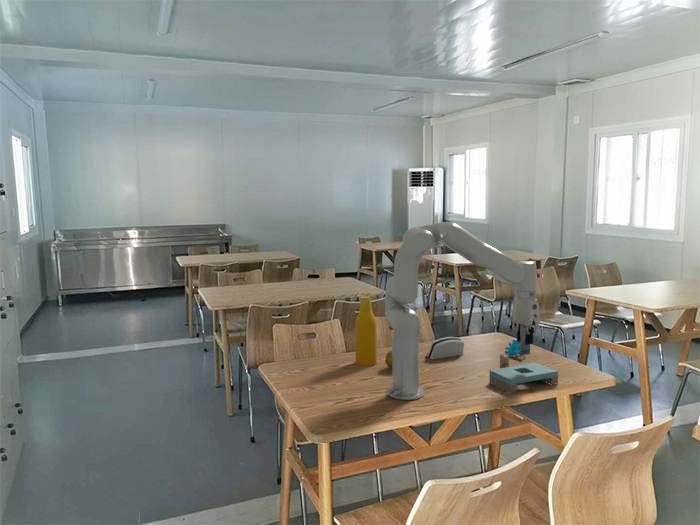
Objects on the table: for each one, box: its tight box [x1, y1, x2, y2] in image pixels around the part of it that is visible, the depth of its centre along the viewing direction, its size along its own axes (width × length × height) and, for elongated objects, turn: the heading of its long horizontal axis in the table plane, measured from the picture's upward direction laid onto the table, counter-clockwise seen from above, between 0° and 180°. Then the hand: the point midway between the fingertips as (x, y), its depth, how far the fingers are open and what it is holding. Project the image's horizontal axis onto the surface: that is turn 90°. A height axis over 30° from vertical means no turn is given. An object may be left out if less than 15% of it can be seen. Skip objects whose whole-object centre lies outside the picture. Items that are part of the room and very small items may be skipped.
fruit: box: [385, 349, 392, 370], centre depth 225 cm, size 10×9×8 cm
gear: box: [504, 339, 527, 359], centre depth 241 cm, size 11×6×10 cm
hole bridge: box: [489, 362, 559, 394], centre depth 205 cm, size 22×12×5 cm, turn 113°
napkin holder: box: [425, 336, 465, 360], centre depth 242 cm, size 17×5×10 cm, turn 113°
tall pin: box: [520, 324, 531, 356], centre depth 204 cm, size 4×4×12 cm
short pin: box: [499, 353, 510, 369], centre depth 222 cm, size 4×4×6 cm
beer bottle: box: [354, 295, 378, 367], centre depth 233 cm, size 9×9×29 cm
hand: (524, 342), depth 204 cm, fingers closed on tall pin, 3 cm apart
